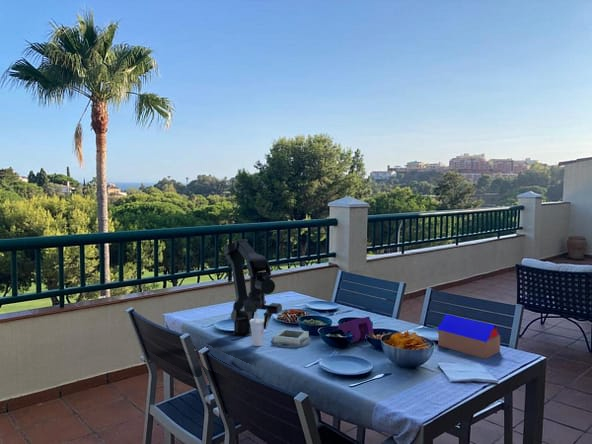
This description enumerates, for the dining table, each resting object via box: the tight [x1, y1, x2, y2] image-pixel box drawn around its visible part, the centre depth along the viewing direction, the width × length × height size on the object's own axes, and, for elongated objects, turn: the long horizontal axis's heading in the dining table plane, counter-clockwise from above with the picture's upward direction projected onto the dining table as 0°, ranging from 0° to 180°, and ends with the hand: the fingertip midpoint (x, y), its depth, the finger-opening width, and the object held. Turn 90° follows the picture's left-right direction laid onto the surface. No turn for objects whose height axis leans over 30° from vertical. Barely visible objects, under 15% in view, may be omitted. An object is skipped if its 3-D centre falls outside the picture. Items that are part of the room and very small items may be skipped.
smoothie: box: [250, 310, 265, 347], centre depth 181 cm, size 6×6×14 cm
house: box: [437, 314, 502, 360], centre depth 178 cm, size 12×20×12 cm, turn 41°
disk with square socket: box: [271, 328, 312, 349], centre depth 186 cm, size 16×16×3 cm
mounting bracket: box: [333, 316, 374, 344], centre depth 192 cm, size 9×8×18 cm
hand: (257, 328), depth 181 cm, fingers closed on smoothie, 6 cm apart
